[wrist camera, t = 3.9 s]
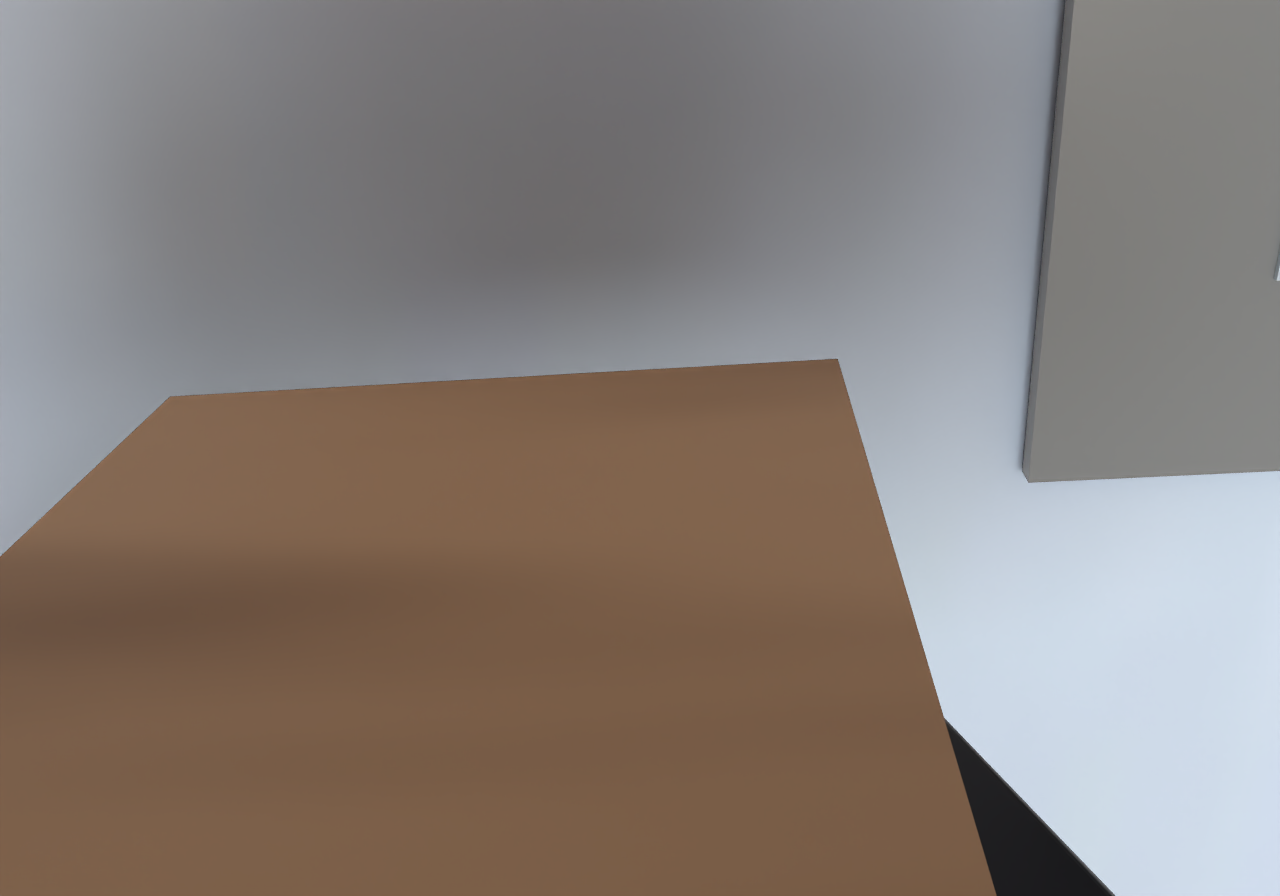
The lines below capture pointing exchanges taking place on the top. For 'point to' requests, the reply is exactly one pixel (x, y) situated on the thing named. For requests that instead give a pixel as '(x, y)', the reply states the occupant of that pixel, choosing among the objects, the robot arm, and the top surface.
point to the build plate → (1160, 245)
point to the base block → (478, 651)
